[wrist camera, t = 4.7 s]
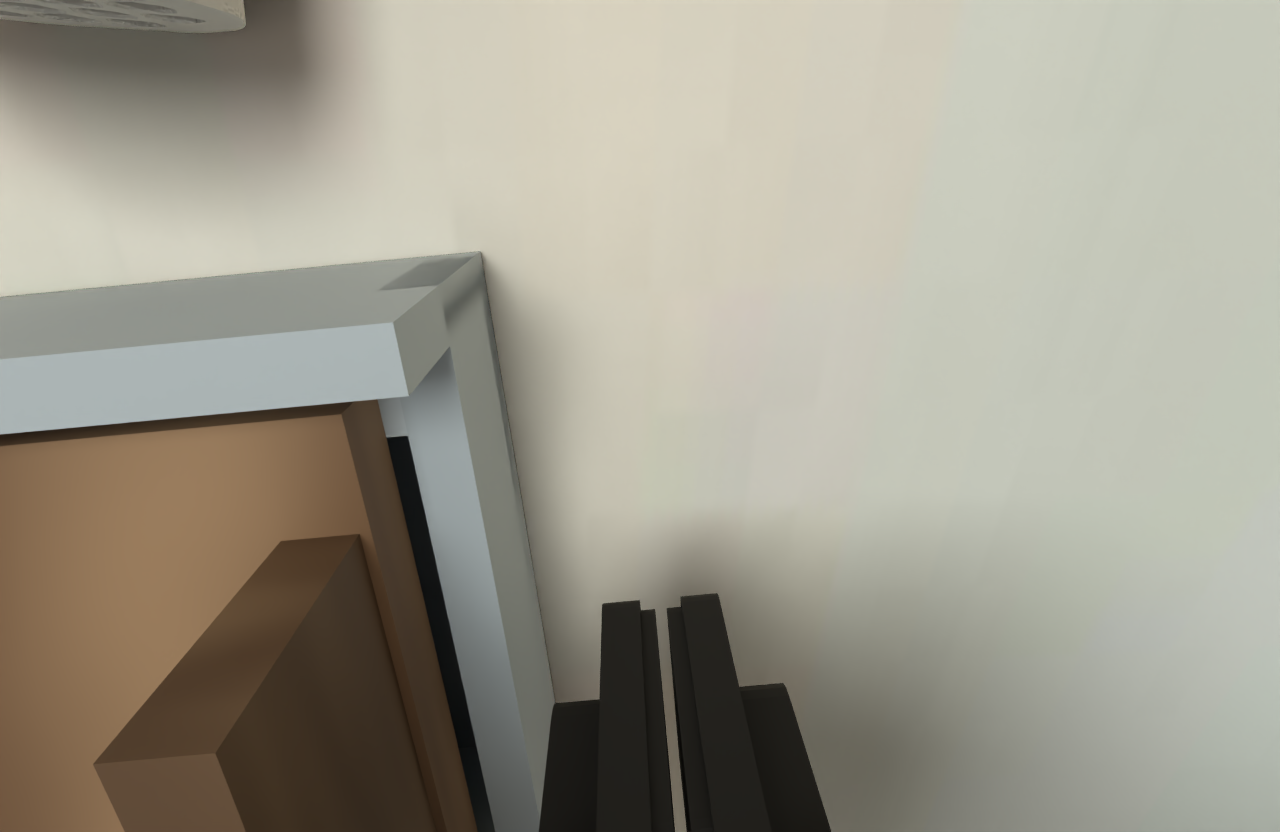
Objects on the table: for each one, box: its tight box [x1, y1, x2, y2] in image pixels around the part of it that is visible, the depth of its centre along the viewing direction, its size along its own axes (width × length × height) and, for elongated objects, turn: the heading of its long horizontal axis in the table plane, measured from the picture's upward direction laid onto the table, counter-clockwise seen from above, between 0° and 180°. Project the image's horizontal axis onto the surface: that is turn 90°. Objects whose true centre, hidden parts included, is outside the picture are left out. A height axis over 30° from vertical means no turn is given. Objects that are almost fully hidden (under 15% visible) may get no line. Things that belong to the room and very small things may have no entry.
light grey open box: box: [0, 251, 555, 832], centre depth 12 cm, size 14×12×5 cm
